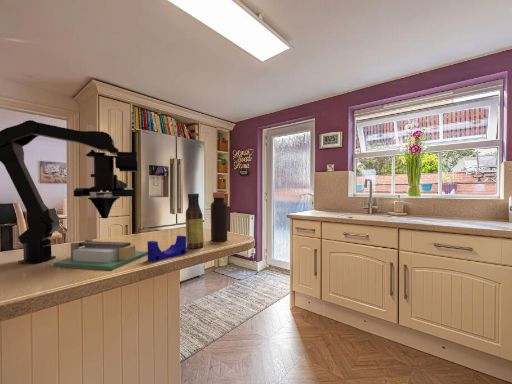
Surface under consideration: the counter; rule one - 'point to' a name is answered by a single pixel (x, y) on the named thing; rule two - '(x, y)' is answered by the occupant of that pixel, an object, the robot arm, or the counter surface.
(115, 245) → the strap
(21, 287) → the counter surface
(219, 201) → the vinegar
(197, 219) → the sauce bottle
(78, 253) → the board
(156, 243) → the blue cradle block
